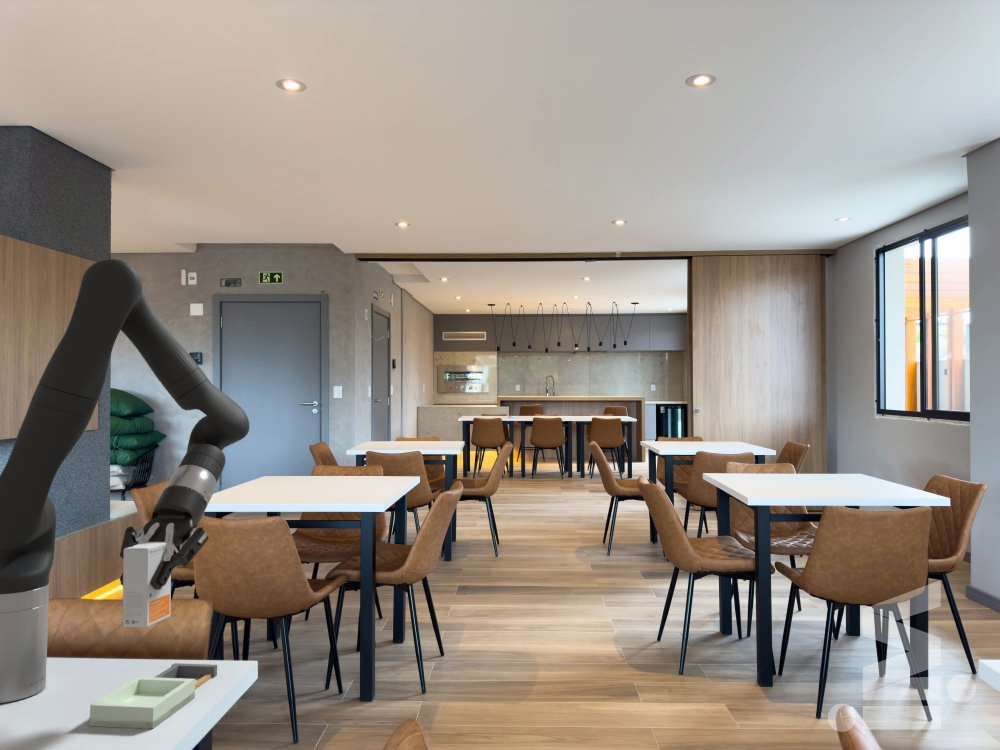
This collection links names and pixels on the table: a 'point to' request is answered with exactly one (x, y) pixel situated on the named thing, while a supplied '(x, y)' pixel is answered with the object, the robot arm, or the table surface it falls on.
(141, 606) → the skincare box
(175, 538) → the robot arm
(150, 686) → the parts tray
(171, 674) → the grey shallow square tray
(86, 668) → the table surface
